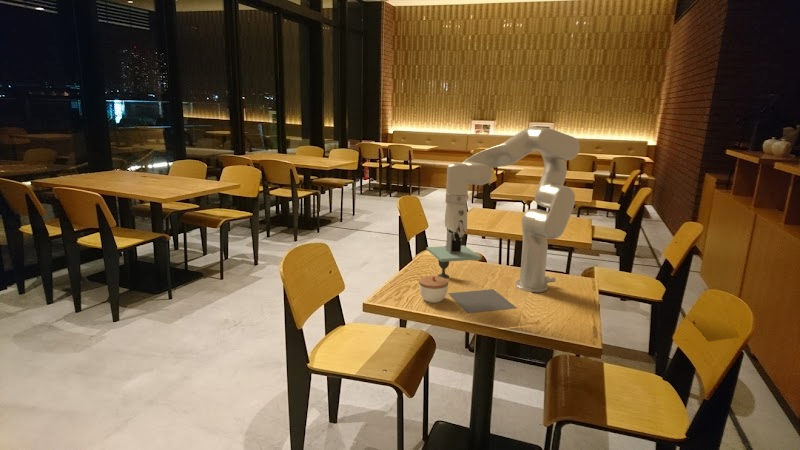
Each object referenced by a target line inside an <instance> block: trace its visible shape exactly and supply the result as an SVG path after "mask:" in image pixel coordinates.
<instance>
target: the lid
mask: <svg viewBox="0 0 800 450" xmlns="http://www.w3.org/2000/svg"><path fill="white" fill-rule="evenodd" d="M456 232H459V230H456ZM456 235H457V234H456ZM452 240H453V232H447V231H446V245H444V246H427V247H426V249H425V250H426V251H427V252H428V253H430V254H431V255H433V256H434V258H436V259H437V260H440V261H441V262H446V261H449V262H459V261H460V262H461V261H462V262H463V261H477V260H480V261H481V260H482V256H481V255H480V254H478V253H477V252H475V251H474V250H472V249H471V248H469V247H467V246H466V245H463V244H462V245H461V250H460V251H456V252H453V251H452Z"/></svg>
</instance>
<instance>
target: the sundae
mask: <svg viewBox="0 0 800 450" xmlns="http://www.w3.org/2000/svg"><path fill="white" fill-rule="evenodd" d="M437 260H438V259H437ZM438 265H439V267H440V268H441V273H440V274H437V276H439V277H443V278H445V279H449V278H450V275H449V274H446V269H447V268H448V267H449V265H450V261H446V262H441V261H440V260H438Z"/></svg>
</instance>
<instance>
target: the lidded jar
mask: <svg viewBox="0 0 800 450" xmlns="http://www.w3.org/2000/svg"><path fill="white" fill-rule="evenodd" d="M418 283H419V285H418V286H419V288H418V289H419V294H420V296H421V297H422V300H424V301H425V302H427V303H432V304H436V303H441V302H442V301H443V300H444V299H445V298H446V297H447V295H448V290H449V280H448V278H443V277H439V276H438V275H427V276H423V277H420V278H419V281H418Z"/></svg>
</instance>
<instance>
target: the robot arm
mask: <svg viewBox="0 0 800 450" xmlns="http://www.w3.org/2000/svg"><path fill="white" fill-rule="evenodd" d="M580 150H581V144H580V142H579V141H578V139H577V138H576V137H574V136H572V135H569V134H566V133H563V132H561V131H558V130H555V129H553V128H549V127H541V126H538V127H537V126H531V127H526V128H524V129H523V130H521V131H520V132H518V133H517V134H515V135H513V136H512V137H510V138H508V139H507V140H505V141H504V142H502V143H499V144H497V145H494V146H492V147H489V148H486V149H484V150H481V151H478V152H477V153H474V154H473V155H471V156H470V157H467V158H466V159H465V160H464V161H462V162H460V163H458V162H453V163H449V164H448V166H447V169H446V170H447V171H446V182H445V183H446V186H445V201H444V202H445V213H444V226H445V228H446V233H447V232H453V240H452V251H453V252H456V251H460V250H461V246H462V239H463V237H464V236H465V233H466V232H467V231H468V207H467V204H468V194H469V193H468V191H469V185H475V186H485V185H486V184H487V185H488V184H489V182H490V181H491V180H492V179H493V171H492V169H493V168H500V167H506V166H511V165H514V164H516V163H517V162H519V161H520V160H522V159H523V158H525V157H526V156H528V155H530V154H531V153H533V152H539V153H540V155H541V158H542V160H543V164H544V166H543V171H542V175H541V178H540V181H539V182H538V186H537V189H536V191H535V194H534V201H535V203H536V204H537V205H539V206H540V207H543V208H547V209H549V211H548V210H547V211H546V210H543V209H539V208H530V209H528V210H527V211H525V212H524V213H523V215H522V217H521V230H522V231H521V232H522V248H521V249H522V250H521V258H520V259H521V262H520V273H519V280H516V281H515V287H516V288H517V289H519V290H521V291H524V292H529V293H544V292H546V291H548V290H549V285H548V284H549V283H555V282H556V277H555V276H553V277H550V276H548V275H546V269H547V257H548V248H549V247H548V245H549V244H548V239H549V240H556V239H559V238H560V237H561V236H562V235H563V234H564V232H565V230H566V228H567V225H568V223H569V219H570V217H571V215H572V213H573V209H574V207H575V204H576V195H575V192H574V189H572V188H571V187H569V186H566V185H564V184H565V181H566V177H567V175H568V174H567V173H568V168H567V164H566V161H571V160H573V159H576V157H577V156H578V155H579V153H580ZM456 231H458V232H456ZM456 234H457V235H456Z"/></svg>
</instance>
